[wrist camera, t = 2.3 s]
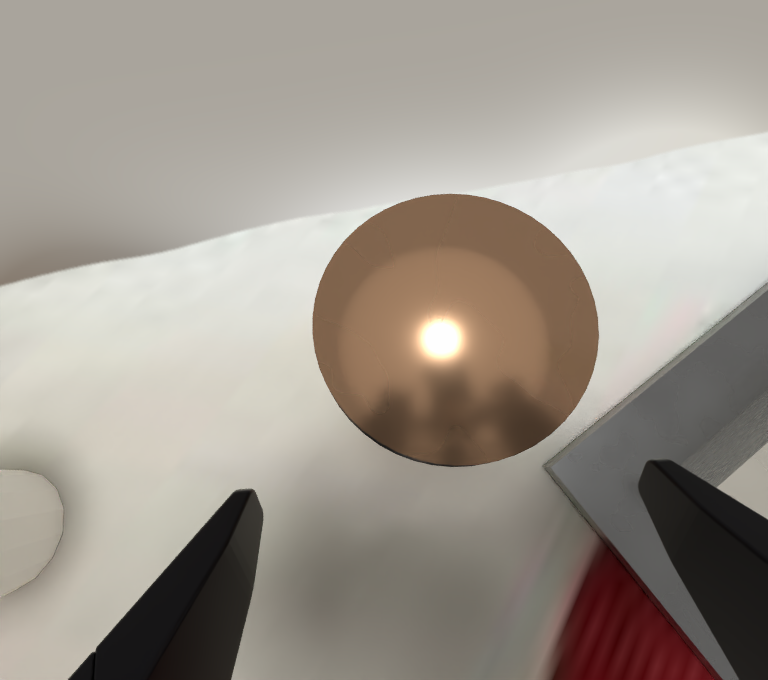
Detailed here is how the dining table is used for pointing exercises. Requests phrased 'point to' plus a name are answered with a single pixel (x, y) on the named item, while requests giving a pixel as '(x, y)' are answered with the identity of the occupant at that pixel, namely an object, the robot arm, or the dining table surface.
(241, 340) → the dining table surface
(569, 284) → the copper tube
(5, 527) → the shot glass
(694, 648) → the frame
